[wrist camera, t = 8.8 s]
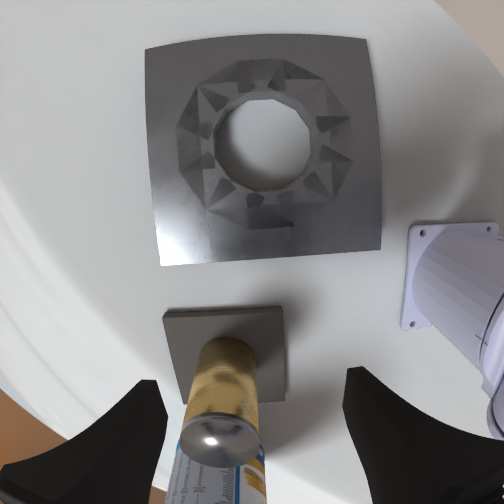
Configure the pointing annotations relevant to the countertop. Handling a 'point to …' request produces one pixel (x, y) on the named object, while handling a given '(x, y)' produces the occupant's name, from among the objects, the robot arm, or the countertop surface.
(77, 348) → the countertop surface
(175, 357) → the mat
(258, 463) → the blue bottle
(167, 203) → the housing
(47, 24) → the countertop surface
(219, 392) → the cylindrical knob
